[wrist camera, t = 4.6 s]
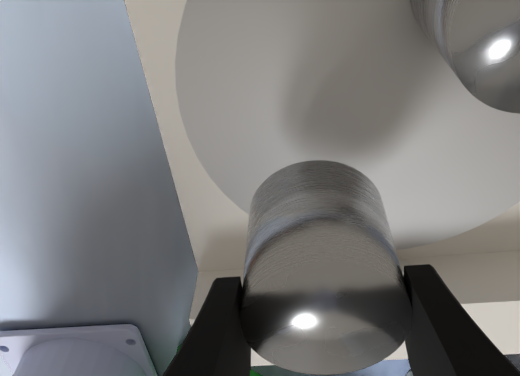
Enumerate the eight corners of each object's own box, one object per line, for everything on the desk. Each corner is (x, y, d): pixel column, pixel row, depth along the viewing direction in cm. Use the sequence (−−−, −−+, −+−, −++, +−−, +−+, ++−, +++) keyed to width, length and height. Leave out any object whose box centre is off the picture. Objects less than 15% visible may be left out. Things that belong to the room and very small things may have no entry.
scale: (541, 266, 22) (593, 350, 19) (216, 287, 24) (204, 368, 20) (671, -213, 13) (831, -237, 9) (112, -126, 14) (53, -117, 11)
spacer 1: (385, 257, 16) (413, 368, 12) (262, 270, 16) (256, 380, 13) (380, 151, 13) (412, 252, 10) (236, 170, 14) (222, 272, 11)
